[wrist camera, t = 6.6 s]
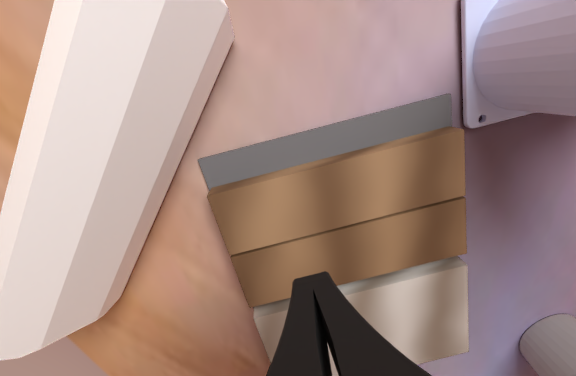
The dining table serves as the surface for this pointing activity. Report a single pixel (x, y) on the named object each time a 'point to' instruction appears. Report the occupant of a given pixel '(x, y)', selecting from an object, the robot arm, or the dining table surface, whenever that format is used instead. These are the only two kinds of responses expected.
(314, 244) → the walnut boards
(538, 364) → the coffee cup
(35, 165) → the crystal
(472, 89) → the robot arm
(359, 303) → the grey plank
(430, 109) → the underlay mat
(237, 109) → the dining table surface
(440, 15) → the dining table surface
